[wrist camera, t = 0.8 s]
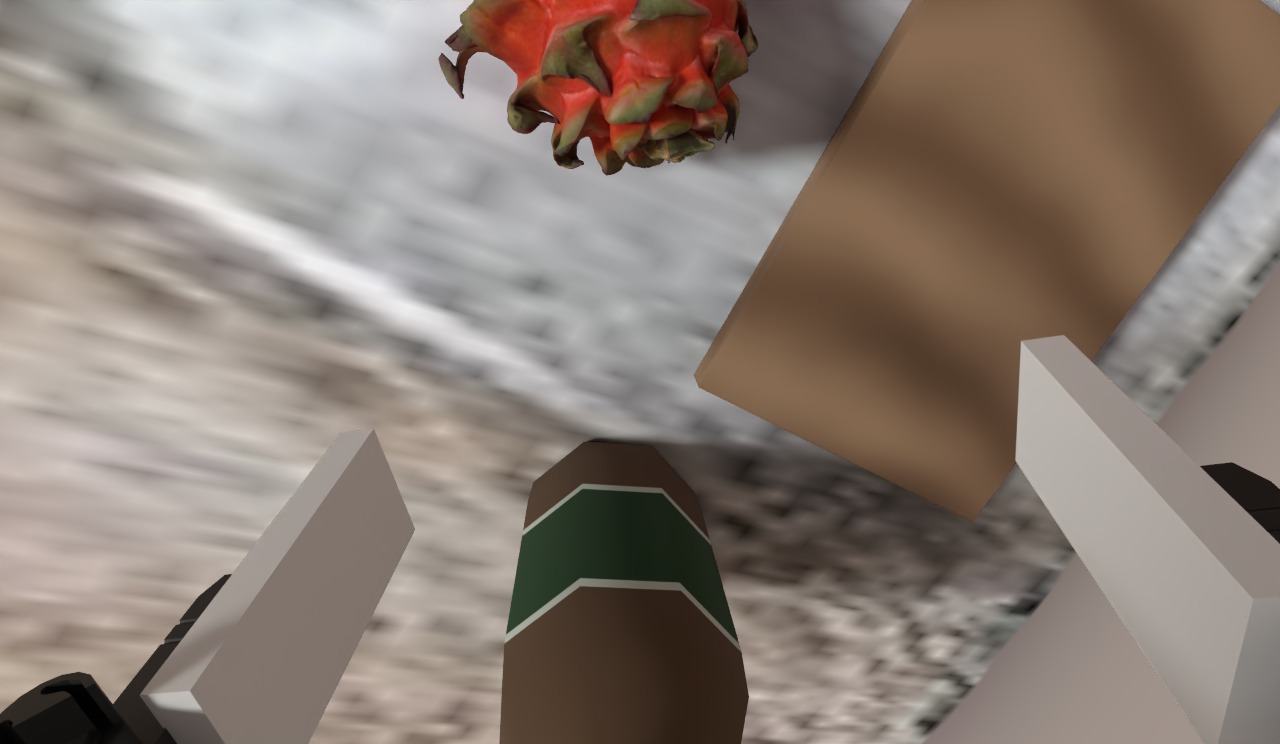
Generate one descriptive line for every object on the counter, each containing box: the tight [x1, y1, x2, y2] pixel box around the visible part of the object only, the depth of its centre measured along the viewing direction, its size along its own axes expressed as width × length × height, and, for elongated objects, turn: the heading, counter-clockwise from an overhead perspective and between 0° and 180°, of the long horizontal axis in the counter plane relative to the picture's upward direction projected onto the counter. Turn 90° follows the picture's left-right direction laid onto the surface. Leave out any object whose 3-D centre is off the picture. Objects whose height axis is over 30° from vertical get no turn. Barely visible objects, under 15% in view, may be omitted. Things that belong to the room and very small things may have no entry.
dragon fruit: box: [439, 0, 758, 175], centre depth 24 cm, size 8×8×12 cm
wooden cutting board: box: [694, 0, 1280, 522], centre depth 30 cm, size 22×14×2 cm, turn 152°
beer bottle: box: [500, 442, 749, 744], centre depth 22 cm, size 8×8×24 cm
